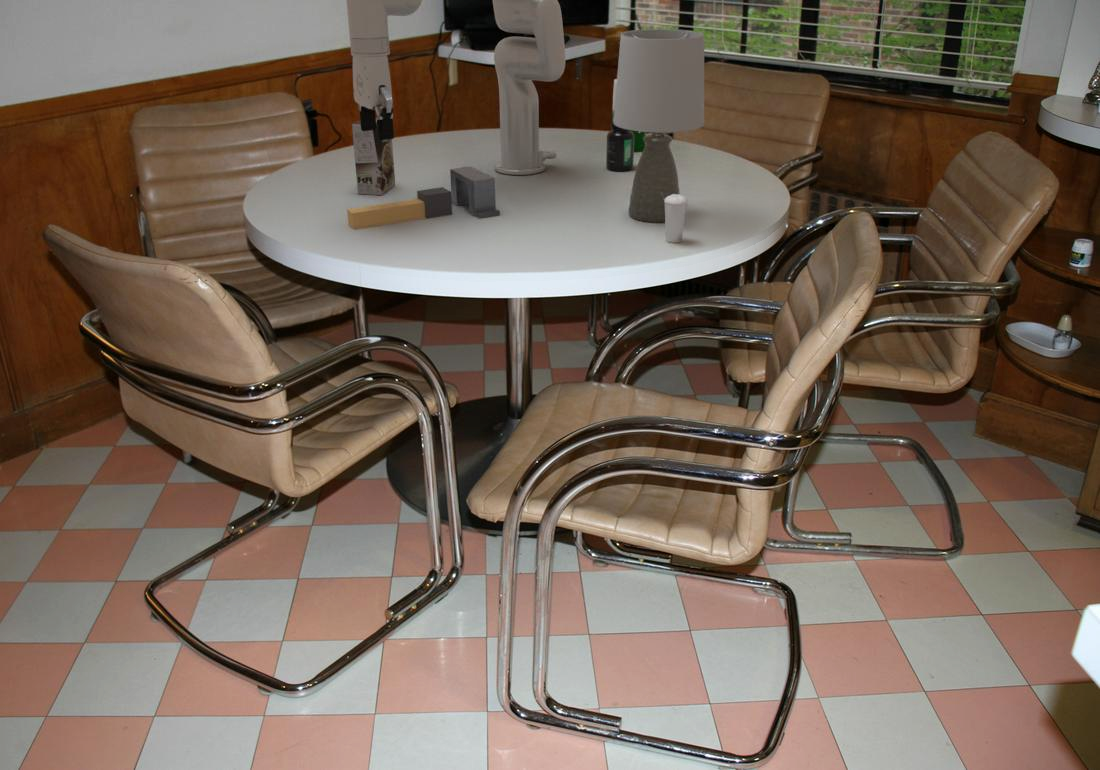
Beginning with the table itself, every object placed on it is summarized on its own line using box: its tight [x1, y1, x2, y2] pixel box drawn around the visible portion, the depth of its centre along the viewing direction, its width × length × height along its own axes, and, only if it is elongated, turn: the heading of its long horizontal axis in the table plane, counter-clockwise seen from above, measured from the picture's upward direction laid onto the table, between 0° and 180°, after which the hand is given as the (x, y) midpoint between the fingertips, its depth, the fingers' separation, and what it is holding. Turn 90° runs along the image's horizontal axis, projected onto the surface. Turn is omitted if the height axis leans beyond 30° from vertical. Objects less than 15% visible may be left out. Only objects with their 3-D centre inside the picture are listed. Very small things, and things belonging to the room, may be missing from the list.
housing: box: [449, 166, 501, 219], centre depth 216 cm, size 5×16×8 cm, turn 30°
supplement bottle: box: [605, 119, 635, 173], centre depth 246 cm, size 7×7×12 cm
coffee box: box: [351, 116, 396, 196], centre depth 228 cm, size 9×6×16 cm
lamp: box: [613, 28, 705, 223], centre depth 204 cm, size 19×19×37 cm
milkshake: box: [661, 193, 689, 244], centre depth 194 cm, size 4×5×10 cm
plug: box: [346, 186, 453, 230], centre depth 209 cm, size 22×4×5 cm, turn 120°
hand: (377, 134), depth 201 cm, fingers open, 9 cm apart
